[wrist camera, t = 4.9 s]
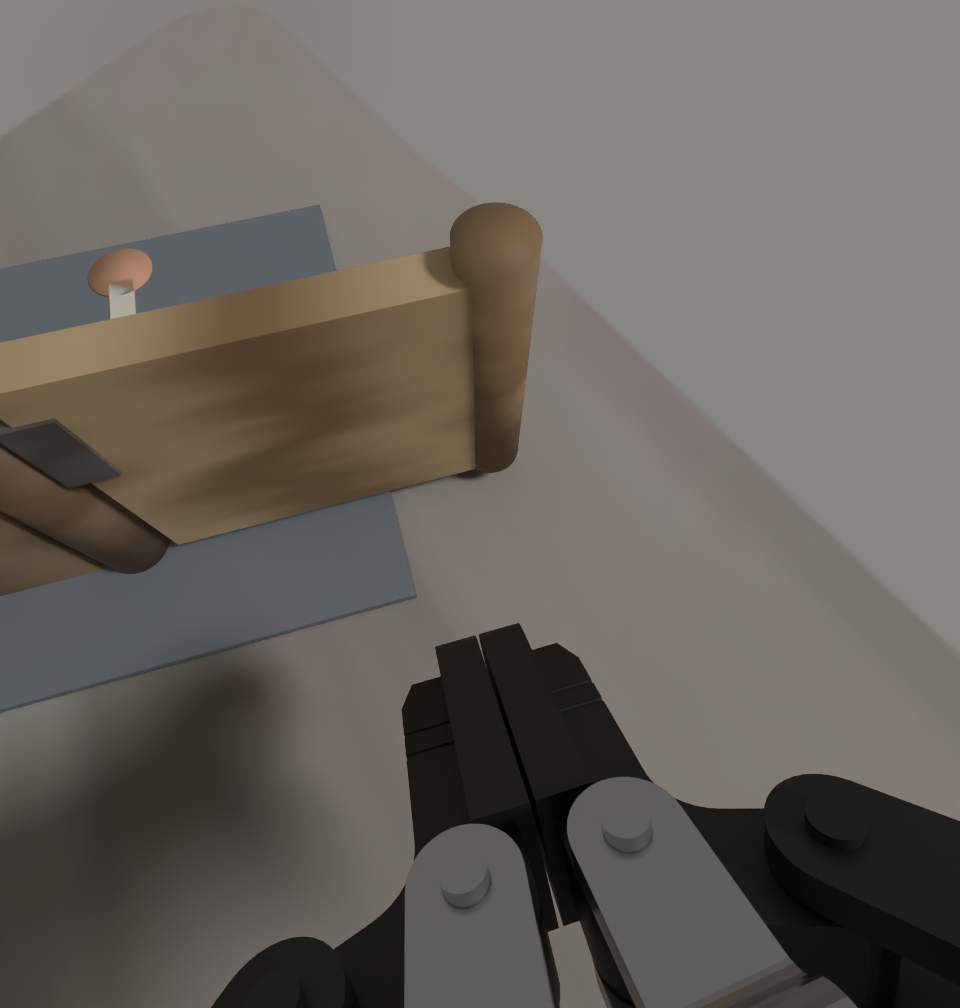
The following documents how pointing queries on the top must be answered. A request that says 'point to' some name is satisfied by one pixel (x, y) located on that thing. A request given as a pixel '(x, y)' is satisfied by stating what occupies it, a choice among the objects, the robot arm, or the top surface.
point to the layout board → (205, 562)
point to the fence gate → (289, 386)
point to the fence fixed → (65, 530)
